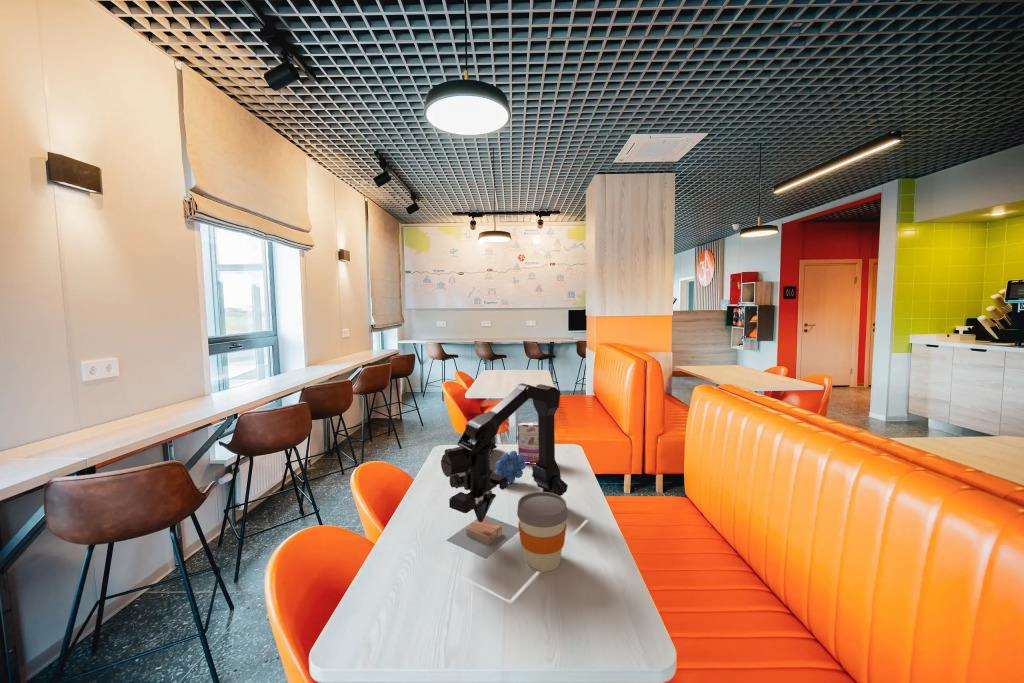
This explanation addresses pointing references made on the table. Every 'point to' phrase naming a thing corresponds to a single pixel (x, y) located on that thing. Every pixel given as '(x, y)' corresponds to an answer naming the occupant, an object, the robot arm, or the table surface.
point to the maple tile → (484, 531)
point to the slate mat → (481, 547)
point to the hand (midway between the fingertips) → (480, 521)
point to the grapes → (510, 466)
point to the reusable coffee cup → (542, 529)
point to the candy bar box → (528, 441)
